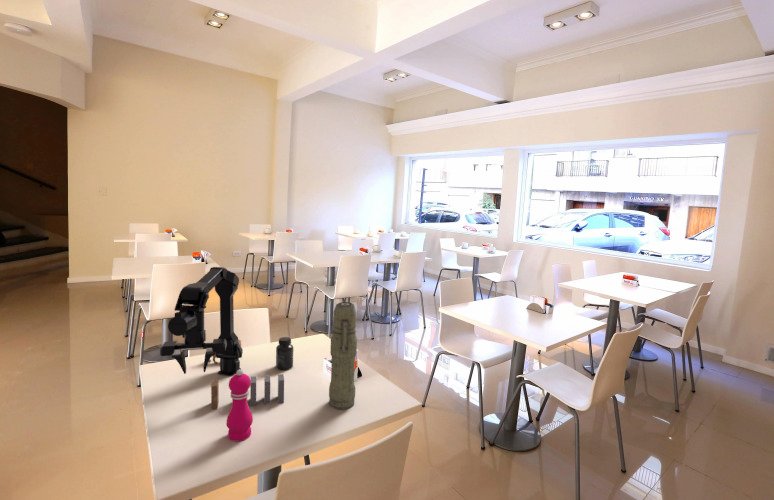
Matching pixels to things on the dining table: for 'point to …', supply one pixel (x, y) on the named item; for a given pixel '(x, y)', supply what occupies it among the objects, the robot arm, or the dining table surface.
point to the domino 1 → (214, 394)
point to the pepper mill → (239, 408)
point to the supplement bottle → (284, 354)
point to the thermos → (343, 356)
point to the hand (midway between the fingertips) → (194, 372)
